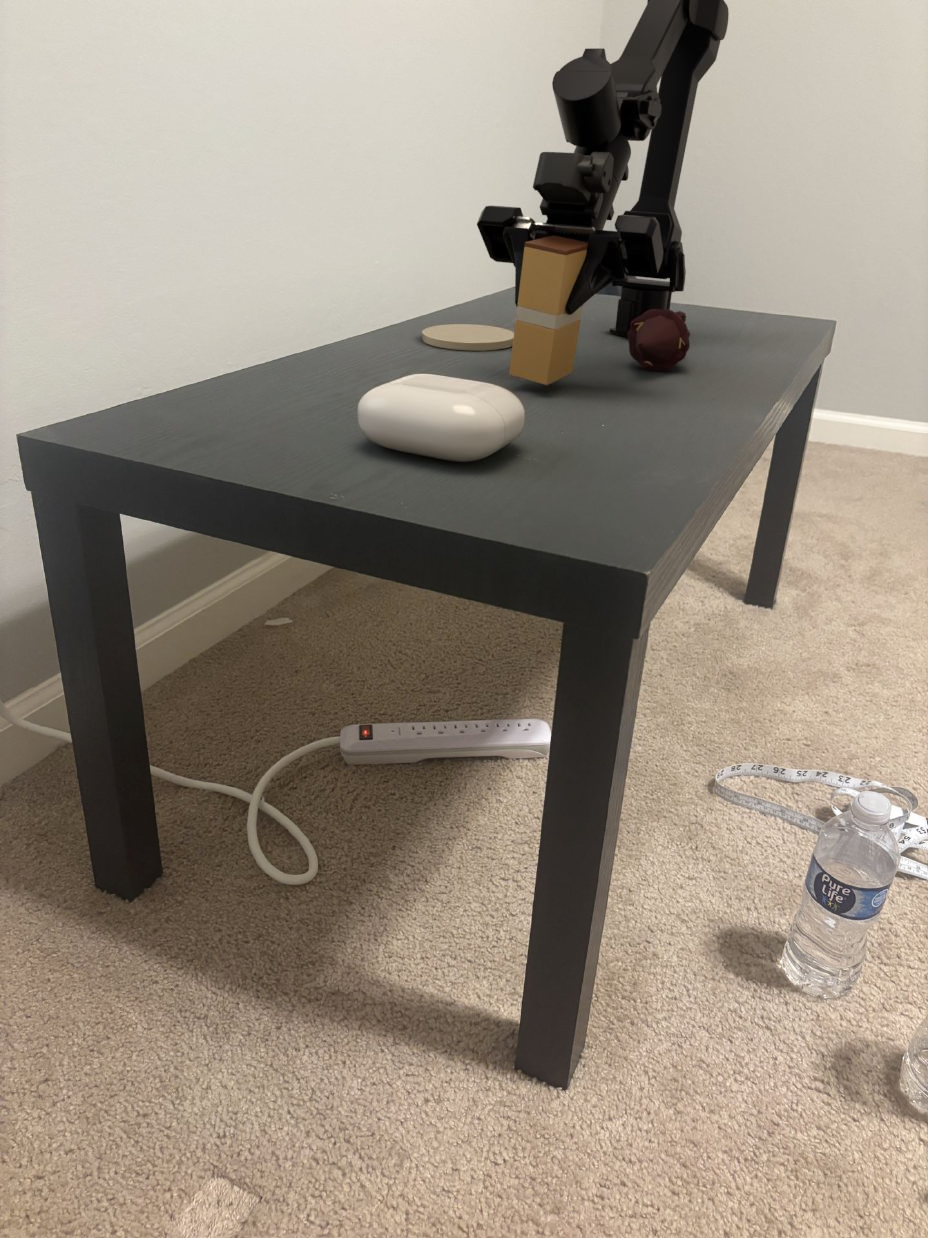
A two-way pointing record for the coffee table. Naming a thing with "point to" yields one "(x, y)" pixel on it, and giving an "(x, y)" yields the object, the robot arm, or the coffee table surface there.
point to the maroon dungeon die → (659, 339)
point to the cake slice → (547, 310)
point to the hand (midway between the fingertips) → (542, 308)
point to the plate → (468, 337)
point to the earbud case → (441, 417)
